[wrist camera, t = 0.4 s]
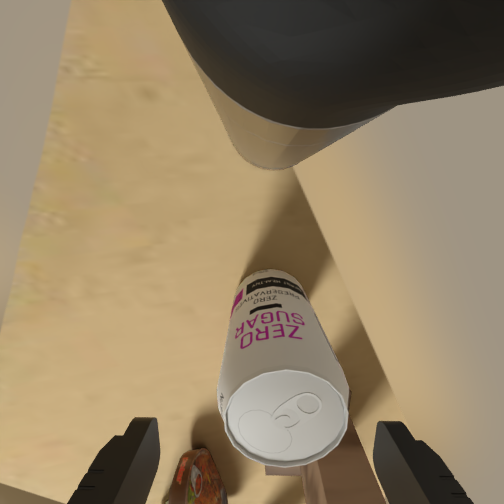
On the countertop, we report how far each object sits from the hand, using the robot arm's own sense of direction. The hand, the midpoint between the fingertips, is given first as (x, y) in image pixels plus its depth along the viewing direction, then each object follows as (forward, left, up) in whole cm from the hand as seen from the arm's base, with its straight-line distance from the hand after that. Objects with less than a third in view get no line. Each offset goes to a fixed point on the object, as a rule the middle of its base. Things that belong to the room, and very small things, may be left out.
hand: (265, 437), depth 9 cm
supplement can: (+4, +1, -19) cm, 19 cm away
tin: (+32, -7, -19) cm, 38 cm away
